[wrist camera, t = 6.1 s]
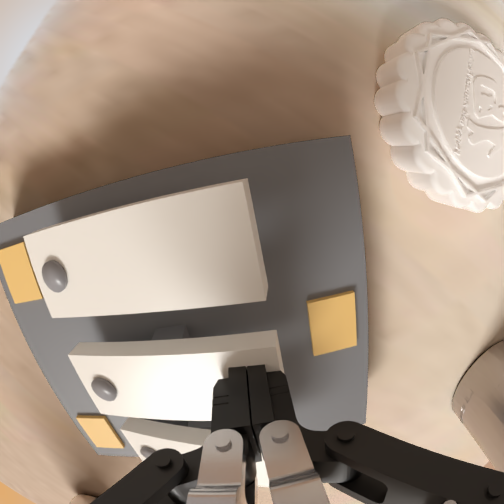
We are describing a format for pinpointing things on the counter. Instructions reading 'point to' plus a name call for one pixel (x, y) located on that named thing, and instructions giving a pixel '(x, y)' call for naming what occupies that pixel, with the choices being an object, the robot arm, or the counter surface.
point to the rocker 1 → (153, 255)
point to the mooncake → (445, 113)
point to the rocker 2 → (172, 440)
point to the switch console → (237, 315)
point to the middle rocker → (168, 372)
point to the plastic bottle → (82, 499)
